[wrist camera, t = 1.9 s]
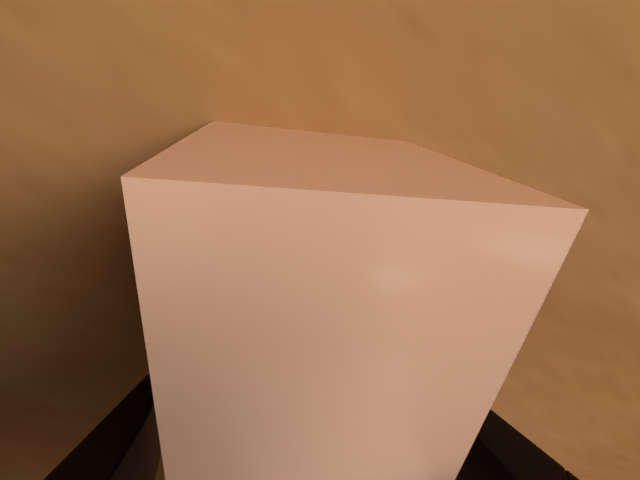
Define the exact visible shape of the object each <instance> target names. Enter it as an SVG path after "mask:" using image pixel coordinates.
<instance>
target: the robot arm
mask: <svg viewBox="0 0 640 480" xmlns="http://www.w3.org/2000/svg"><path fill="white" fill-rule="evenodd" d="M160 453H161V447H160V440H159V434H158V427H157V420H156V413H155V407H154V400H153V393H152V386H151V379H150V374H148V375H147V376H146V377H145V378H144V379H143V380H142V381H141V382H140V383H139V384H138V385H137V386H136V387H135V388H134V389H133V390H132V391H131V392H130V393H129V394H128V395H127V396H126V397H125V398H124V399H123V400H122V401H121V402H120V403H119V404H118V405H117V406H116V407H115V408H114V409H113V410H112V411H111V412H110V413H109V414H108V415H107V416H106V417H105V418H104V419H103V420H102V421H101V422H100V423H99V424H98V425H97V426H96V427H95V428H94V429H93V430H92V431H91V432H90V433H89V434H88V435H87V436H86V437H85V438H84V439H83V441H82V442H81V443H80V444H79V445H78V446H77V447H76V448H75V449H74V450H73V451H72V452H71V453H70V454H69V455H68V456H67V457H66V458H65V459H64V460H63V461H62V462H61V463H60V464H59V465H58V466H57V467H56V468H55V469H54V470H53V471H52V472H51V473H50V474H49V475H48V476H47V477H46V478H45V479H44V480H154V479H155V475H156V471H157V467H158V462H159V457H160ZM455 480H579V479H578V478H577V477H575V476H574V475H573V474H571V473H570V472H569V471H567V470H566V471H565V469H564V467H563V466H561V465H560V464H559V463H557V462H556V461H555V460H554V459H552V458H551V457H550V456H549V455H547V454H546V453H545V452H544V451H542V450H541V449H540V448H539V447H537V446H536V445H535V444H534V443H532V442H531V441H530V440H529V439H527V438H526V437H525V436H523V435H522V434H521V433H520V432H518V431H517V430H516V429H515V428H513V427H512V426H511V425H510V424H508V423H507V422H506V421H505V420H503V419H502V418H501V417H500V416H498V415H497V414H496V413H494V412H493V411H492V410H491V409H490V410H489V412H488V414H487V416H486V418H485V420H484V422H483V424H482V426H481V428H480V430H479V433H478V435H477V437H476V439H475V441H474V443H473V445H472V447H471V449H470V451H469V453H468V455H467V457H466V459H465V461H464V463H463V465H462V467H461V469H460V471H459V473H458V475H457V477H456V479H455Z"/></svg>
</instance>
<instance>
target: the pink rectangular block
mask: <svg viewBox="0 0 640 480" xmlns="http://www.w3.org/2000/svg"><path fill="white" fill-rule="evenodd" d="M121 183H122V190H123V196H124V203H125V210H126V217H127V223H128V230H129V237H130V244H131V251H132V257H133V264H134V271H135V278H136V285H137V291H138V298H139V305H140V312H141V318H142V325H143V332H144V339H145V346H146V352H147V359H148V366H149V373H150V379H151V386H152V393H153V400H154V407H155V413H156V420H157V427H158V434H159V440H160V447H161V454H162V461H163V468H164V474H165V480H455V479H456V477H457V475H458V473H459V471H460V469H461V467H462V465H463V463H464V461H465V459H466V457H467V455H468V453H469V451H470V449H471V447H472V445H473V443H474V441H475V439H476V437H477V435H478V433H479V430H480V428H481V426H482V424H483V422H484V420H485V418H486V416H487V414H488V412H489V410H490V408H491V406H492V404H493V402H494V400H495V398H496V396H497V394H498V392H499V390H500V388H501V386H502V384H503V382H504V380H505V378H506V376H507V374H508V372H509V370H510V368H511V366H512V364H513V362H514V360H515V358H516V356H517V354H518V352H519V350H520V348H521V346H522V344H523V342H524V340H525V338H526V336H527V334H528V332H529V330H530V328H531V326H532V324H533V322H534V320H535V318H536V316H537V314H538V312H539V310H540V308H541V306H542V304H543V302H544V300H545V298H546V296H547V294H548V292H549V290H550V287H551V285H552V283H553V281H554V279H555V277H556V275H557V273H558V271H559V269H560V267H561V265H562V263H563V261H564V259H565V257H566V255H567V253H568V251H569V249H570V247H571V245H572V243H573V241H574V239H575V237H576V235H577V233H578V231H579V229H580V227H581V225H582V223H583V221H584V219H585V217H586V215H587V213H588V211H589V209H586V208H583V207H581V206H578V205H575V204H573V203H570V202H567V201H565V200H562V199H559V198H557V197H554V196H551V195H549V194H546V193H543V192H541V191H538V190H535V189H533V188H530V187H527V186H525V185H522V184H519V183H517V182H514V181H511V180H509V179H506V178H503V177H501V176H498V175H495V174H493V173H490V172H487V171H485V170H482V169H479V168H477V167H474V166H471V165H469V164H466V163H463V162H461V161H458V160H455V159H453V158H450V157H447V156H445V155H442V154H439V153H437V152H434V151H431V150H429V149H426V148H423V147H421V146H418V145H415V144H413V143H410V142H406V141H397V140H388V139H378V138H369V137H359V136H350V135H340V134H331V133H321V132H312V131H302V130H293V129H284V128H274V127H265V126H255V125H246V124H236V123H227V122H217V121H212V122H210V123H208V124H207V125H205V126H203V127H202V128H200V129H198V130H197V131H195V132H194V133H192V134H190V135H189V136H187V137H185V138H184V139H182V140H180V141H179V142H177V143H175V144H174V145H172V146H170V147H169V148H167V149H165V150H164V151H162V152H160V153H159V154H157V155H155V156H154V157H152V158H150V159H149V160H147V161H145V162H144V163H142V164H140V165H139V166H137V167H135V168H134V169H132V170H131V171H129V172H127V173H126V174H124V175H122V176H121Z"/></svg>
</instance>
